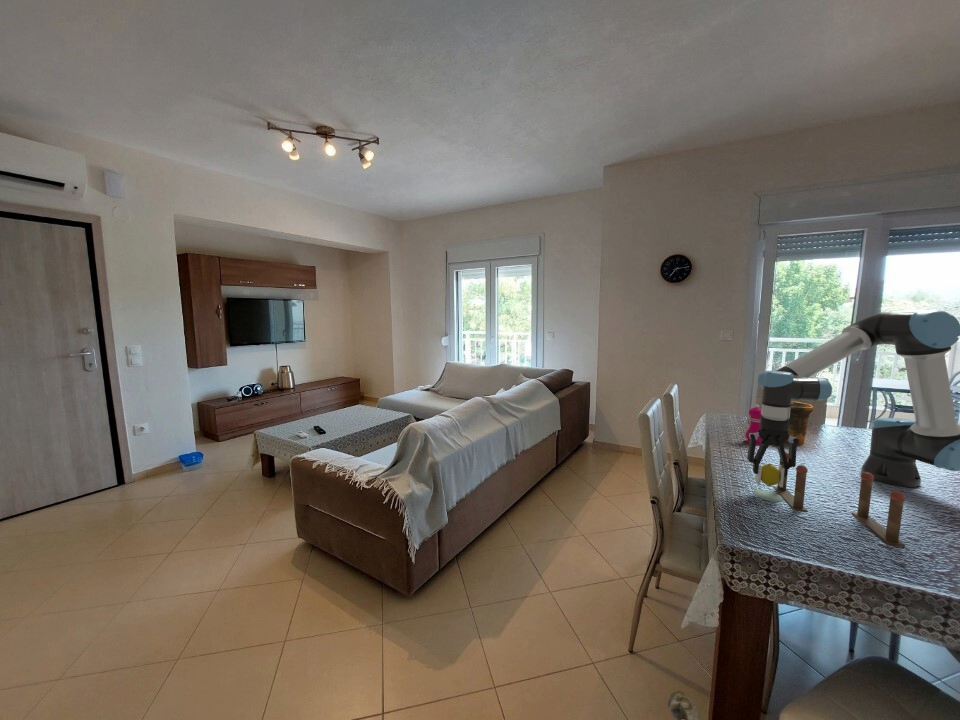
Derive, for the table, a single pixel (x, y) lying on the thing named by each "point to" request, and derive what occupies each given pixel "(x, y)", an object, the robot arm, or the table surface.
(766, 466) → the lemon
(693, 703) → the cake
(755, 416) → the pepper mill
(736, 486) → the table surface
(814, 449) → the table surface
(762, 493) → the pad
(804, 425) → the vessel
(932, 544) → the table surface
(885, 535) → the gate course
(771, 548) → the table surface
